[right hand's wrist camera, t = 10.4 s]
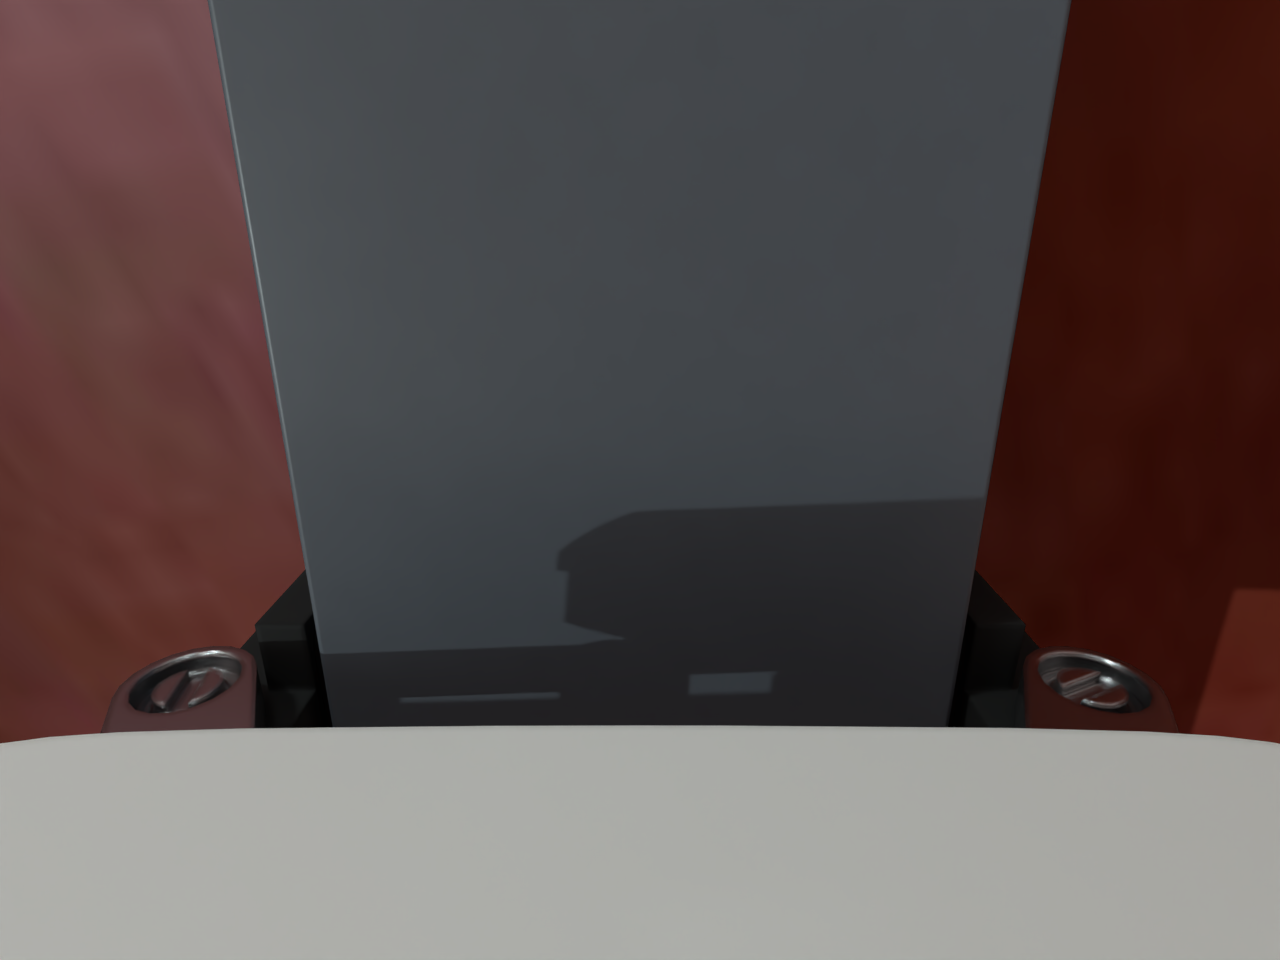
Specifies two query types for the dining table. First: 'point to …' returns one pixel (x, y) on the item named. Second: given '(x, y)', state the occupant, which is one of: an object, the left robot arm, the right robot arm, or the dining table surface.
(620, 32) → the bar
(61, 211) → the dining table surface
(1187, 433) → the dining table surface
